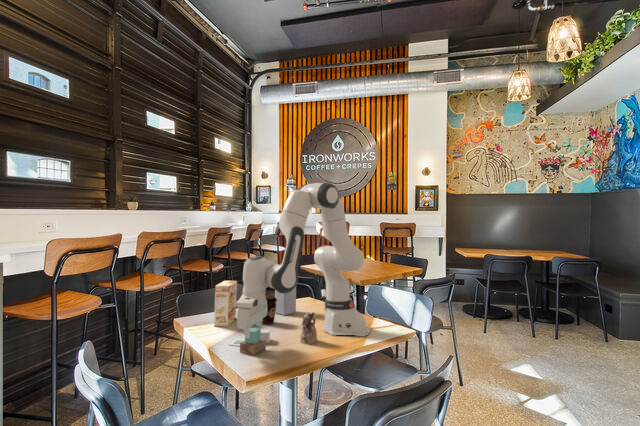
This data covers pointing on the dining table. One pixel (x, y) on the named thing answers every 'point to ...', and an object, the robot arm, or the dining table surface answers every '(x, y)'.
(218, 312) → the coffeecake box
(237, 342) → the tile
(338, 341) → the dining table surface
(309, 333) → the figurine
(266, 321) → the coffee cup
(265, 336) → the cream cube
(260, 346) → the walnut base
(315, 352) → the dining table surface
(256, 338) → the teal cube
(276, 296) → the soap bottle
